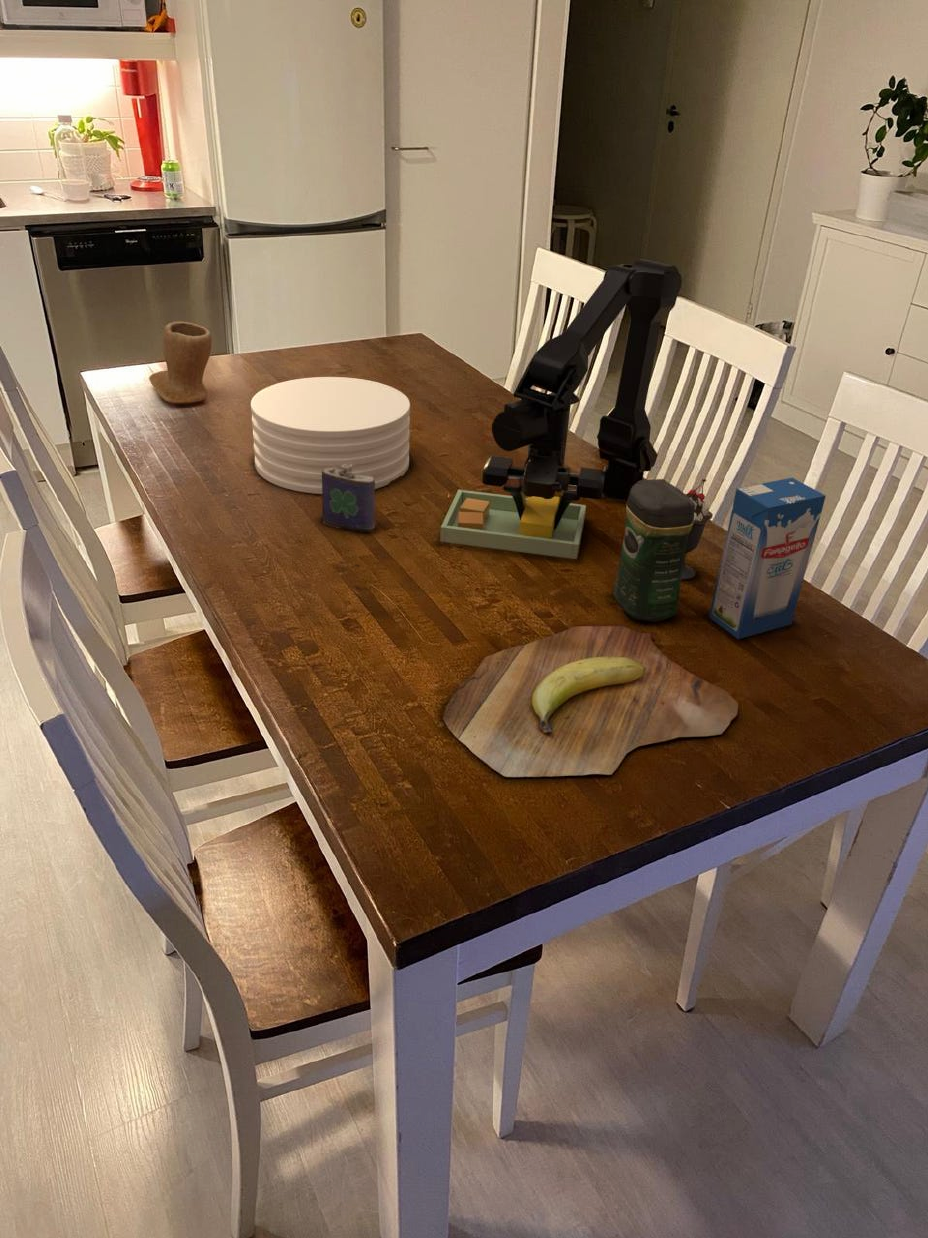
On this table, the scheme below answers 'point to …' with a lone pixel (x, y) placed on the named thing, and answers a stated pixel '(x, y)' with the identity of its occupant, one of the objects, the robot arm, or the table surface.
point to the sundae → (696, 527)
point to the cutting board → (581, 703)
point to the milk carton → (765, 556)
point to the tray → (513, 528)
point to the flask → (348, 499)
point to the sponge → (539, 517)
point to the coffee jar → (653, 550)
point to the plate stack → (329, 431)
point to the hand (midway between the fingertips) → (538, 526)
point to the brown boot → (183, 363)
